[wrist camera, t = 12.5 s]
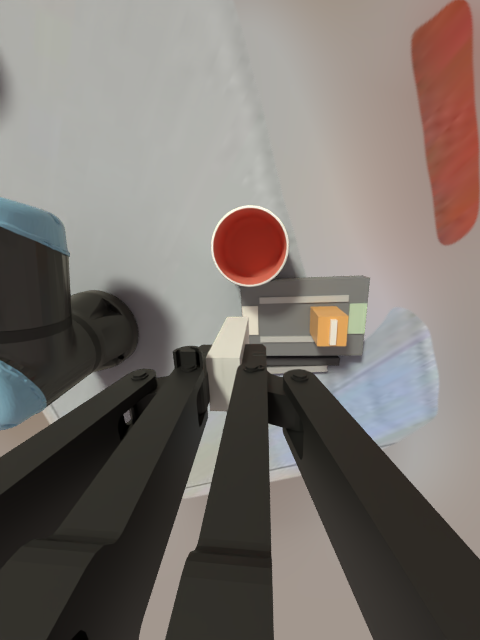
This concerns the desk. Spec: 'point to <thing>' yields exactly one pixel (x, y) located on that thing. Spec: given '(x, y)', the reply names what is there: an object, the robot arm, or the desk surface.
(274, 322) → the box
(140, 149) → the desk surface
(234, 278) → the cup
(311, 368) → the cord grey
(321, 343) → the breaker toggle
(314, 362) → the black bar
